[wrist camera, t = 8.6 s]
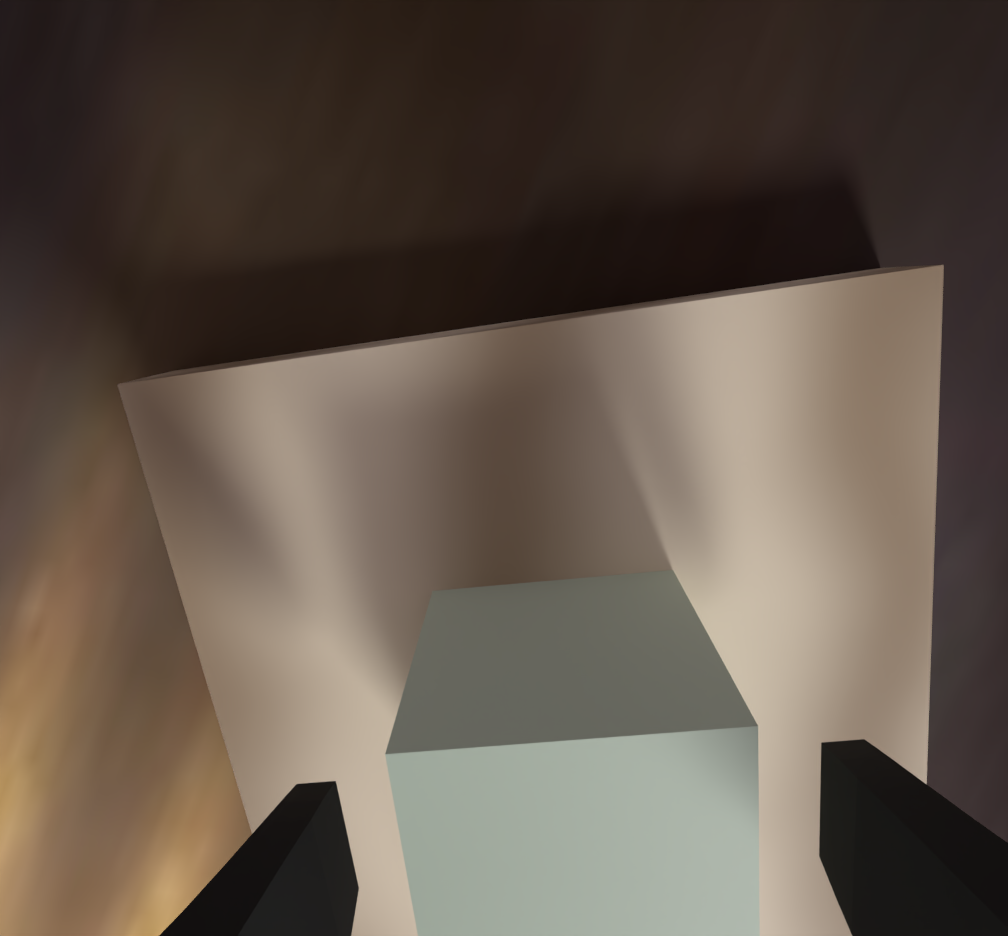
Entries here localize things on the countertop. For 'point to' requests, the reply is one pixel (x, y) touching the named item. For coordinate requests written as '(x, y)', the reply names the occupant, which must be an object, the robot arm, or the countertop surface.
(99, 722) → the countertop surface
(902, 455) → the birch block
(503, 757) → the sage cube
